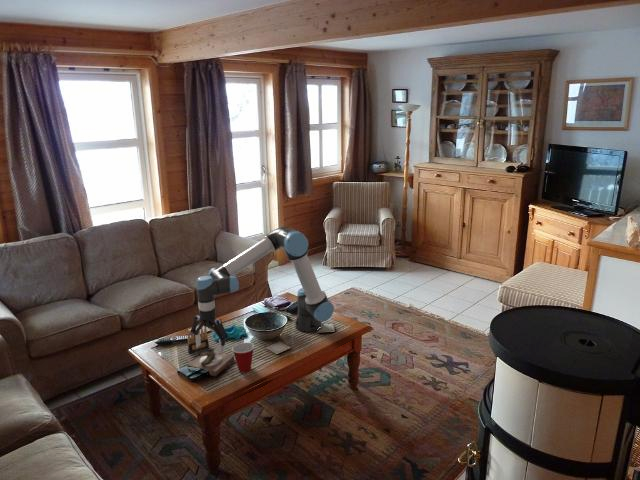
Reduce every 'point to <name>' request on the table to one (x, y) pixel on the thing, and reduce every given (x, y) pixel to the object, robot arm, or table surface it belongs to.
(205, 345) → the ammunition clip
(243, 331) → the toy car
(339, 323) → the table surface
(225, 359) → the plinth
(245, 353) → the plastic cup
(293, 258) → the robot arm
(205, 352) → the eagle figurine
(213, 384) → the table surface
